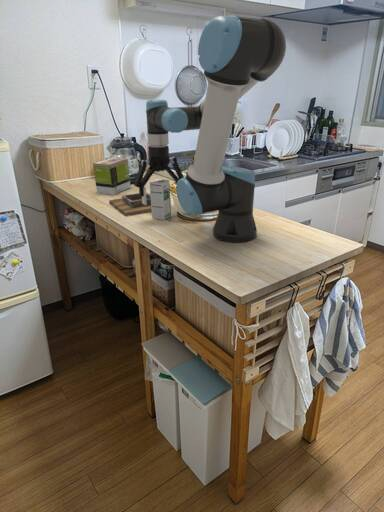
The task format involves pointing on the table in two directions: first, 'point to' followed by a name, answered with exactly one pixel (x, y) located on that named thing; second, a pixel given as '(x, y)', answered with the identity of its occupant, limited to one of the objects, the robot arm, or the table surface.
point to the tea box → (112, 175)
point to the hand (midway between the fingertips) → (160, 201)
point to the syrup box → (160, 199)
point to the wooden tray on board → (132, 204)
